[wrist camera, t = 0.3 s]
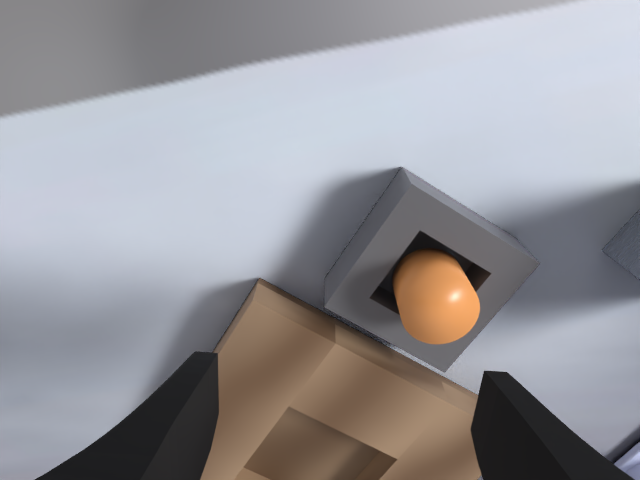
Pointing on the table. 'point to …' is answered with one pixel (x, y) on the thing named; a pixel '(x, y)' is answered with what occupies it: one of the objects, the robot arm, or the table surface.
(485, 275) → the button housing
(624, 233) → the billet
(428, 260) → the button cap
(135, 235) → the table surface
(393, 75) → the table surface
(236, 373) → the wooden board
